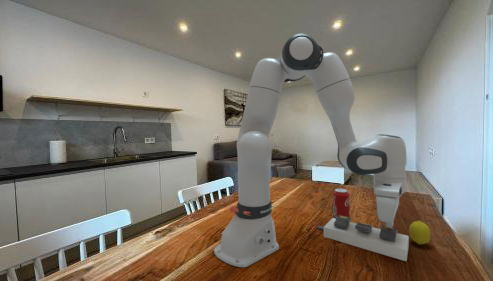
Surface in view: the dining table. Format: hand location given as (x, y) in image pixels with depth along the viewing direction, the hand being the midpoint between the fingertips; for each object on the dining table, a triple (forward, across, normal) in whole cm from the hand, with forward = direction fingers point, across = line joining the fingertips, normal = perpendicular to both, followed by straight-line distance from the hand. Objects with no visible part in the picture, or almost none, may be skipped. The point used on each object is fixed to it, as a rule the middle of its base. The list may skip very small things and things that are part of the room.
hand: (389, 225), depth 70 cm
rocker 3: (+2, +2, 0) cm, 3 cm away
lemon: (+7, -6, +8) cm, 12 cm away
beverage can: (+7, -14, -19) cm, 24 cm away
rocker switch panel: (+6, +2, -9) cm, 11 cm away
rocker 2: (+2, +2, -7) cm, 8 cm away
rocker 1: (+1, +2, -14) cm, 14 cm away
